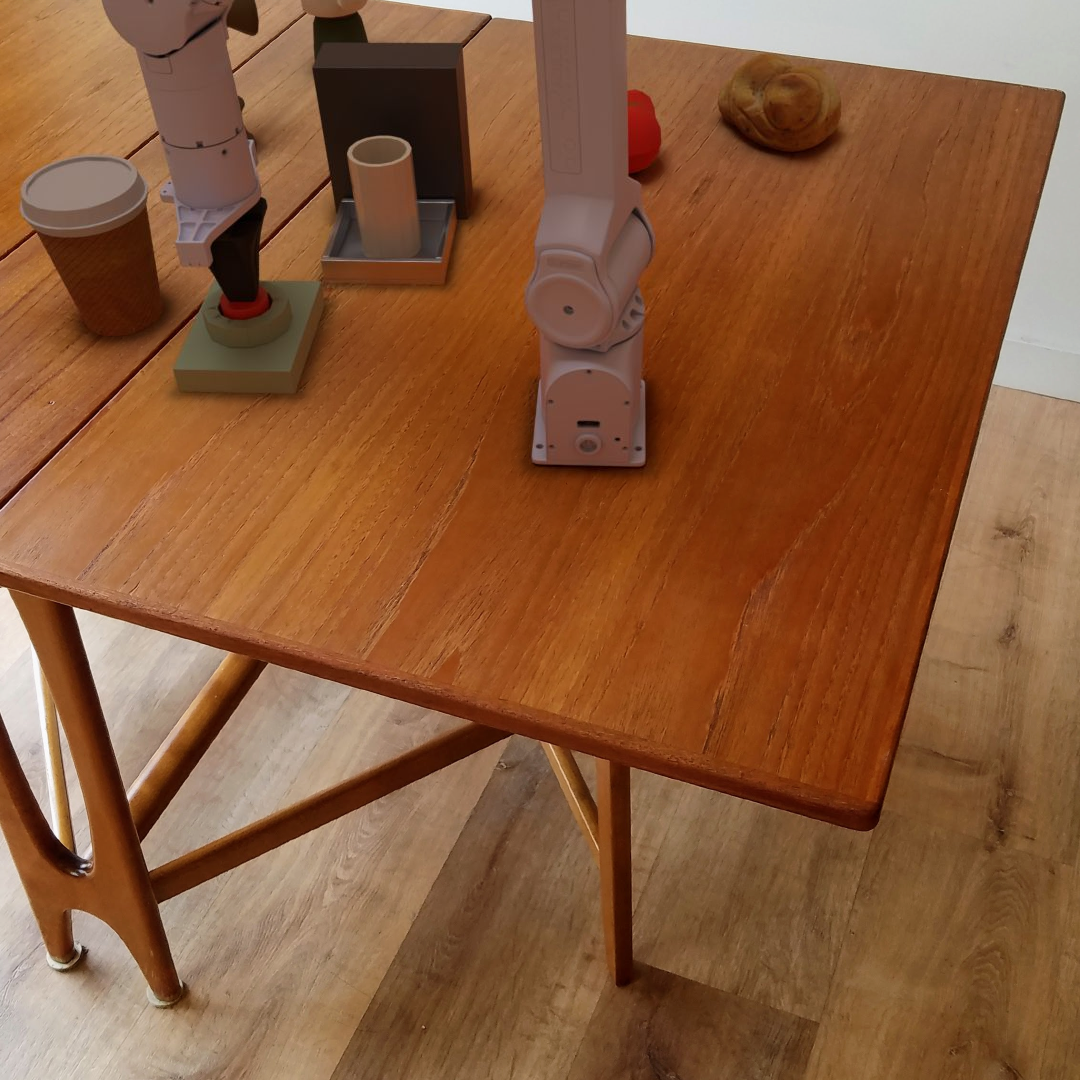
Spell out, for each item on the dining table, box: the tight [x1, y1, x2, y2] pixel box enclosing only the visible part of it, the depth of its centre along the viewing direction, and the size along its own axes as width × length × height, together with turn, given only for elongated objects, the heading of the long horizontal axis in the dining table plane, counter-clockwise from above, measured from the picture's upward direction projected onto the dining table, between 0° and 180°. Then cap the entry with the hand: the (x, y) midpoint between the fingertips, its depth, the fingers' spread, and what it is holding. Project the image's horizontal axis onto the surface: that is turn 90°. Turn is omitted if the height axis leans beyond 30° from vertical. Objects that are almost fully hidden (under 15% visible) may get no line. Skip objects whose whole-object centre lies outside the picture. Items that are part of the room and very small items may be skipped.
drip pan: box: [320, 198, 458, 286], centre depth 100 cm, size 10×10×2 cm
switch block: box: [172, 279, 326, 395], centre depth 91 cm, size 12×9×4 cm
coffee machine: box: [311, 42, 474, 221], centre depth 102 cm, size 5×12×14 cm, turn 87°
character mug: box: [300, 0, 370, 61], centre depth 123 cm, size 11×7×13 cm, turn 23°
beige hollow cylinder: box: [347, 136, 422, 258], centre depth 98 cm, size 5×5×9 cm
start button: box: [220, 286, 270, 320], centre depth 89 cm, size 4×4×2 cm
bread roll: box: [717, 53, 842, 153], centre depth 112 cm, size 13×10×8 cm
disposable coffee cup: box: [19, 153, 164, 337], centre depth 91 cm, size 10×10×12 cm
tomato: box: [627, 88, 662, 175], centre depth 109 cm, size 10×11×6 cm
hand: (243, 297), depth 89 cm, fingers closed, pressing on start button
